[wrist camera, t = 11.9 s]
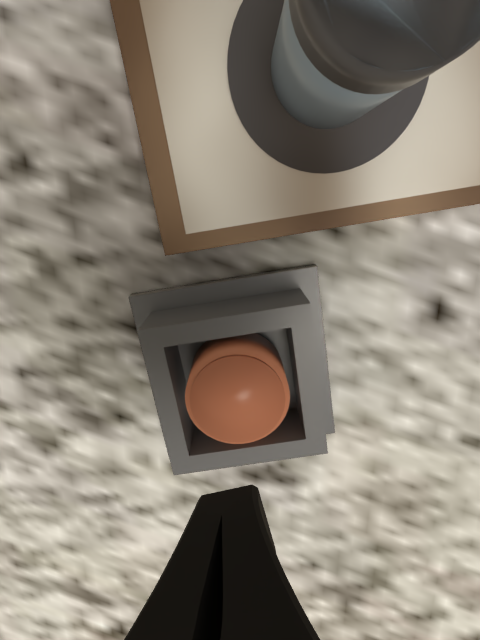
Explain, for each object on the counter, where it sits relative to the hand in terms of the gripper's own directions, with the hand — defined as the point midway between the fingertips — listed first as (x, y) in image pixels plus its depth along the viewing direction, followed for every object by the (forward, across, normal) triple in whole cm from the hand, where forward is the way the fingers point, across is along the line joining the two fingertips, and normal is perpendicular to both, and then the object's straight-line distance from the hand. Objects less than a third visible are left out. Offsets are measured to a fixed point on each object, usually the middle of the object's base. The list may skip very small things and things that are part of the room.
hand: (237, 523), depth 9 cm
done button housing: (+9, 0, 0) cm, 9 cm away
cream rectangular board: (+9, -6, -10) cm, 15 cm away
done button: (+8, 0, 0) cm, 8 cm away
